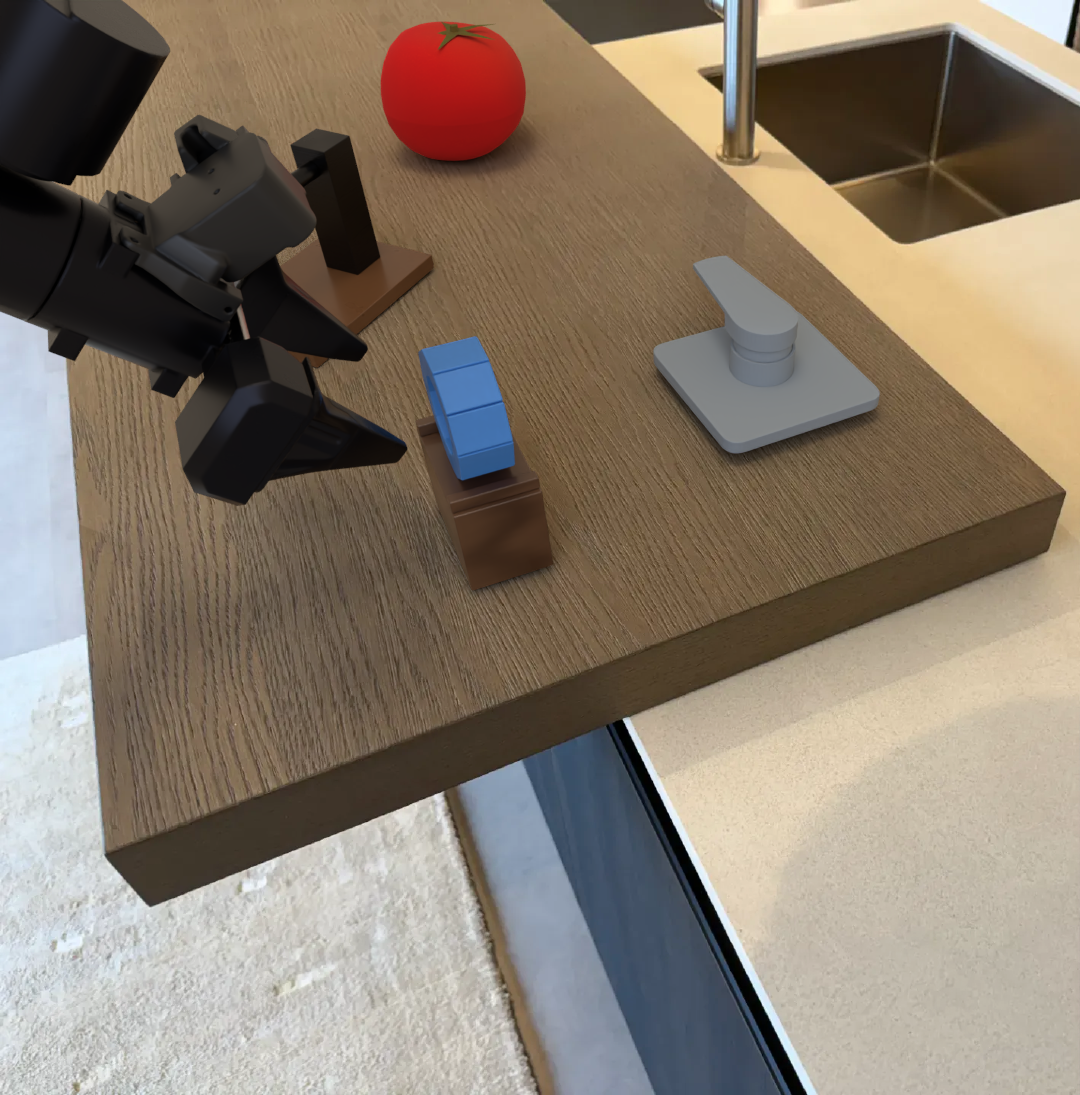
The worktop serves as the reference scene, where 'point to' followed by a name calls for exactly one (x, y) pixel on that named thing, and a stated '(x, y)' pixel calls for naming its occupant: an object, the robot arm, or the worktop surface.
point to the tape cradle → (489, 514)
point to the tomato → (452, 90)
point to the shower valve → (760, 366)
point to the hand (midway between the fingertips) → (382, 400)
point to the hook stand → (345, 240)
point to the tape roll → (467, 407)
